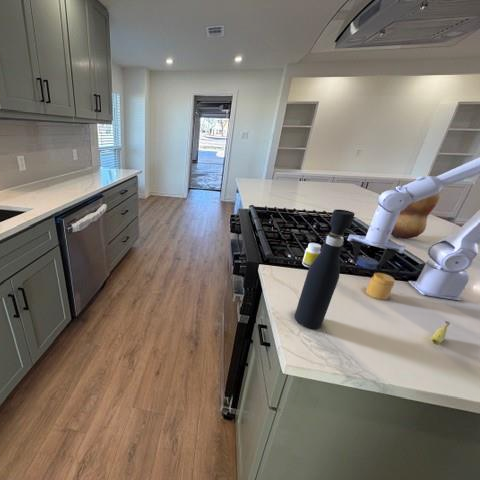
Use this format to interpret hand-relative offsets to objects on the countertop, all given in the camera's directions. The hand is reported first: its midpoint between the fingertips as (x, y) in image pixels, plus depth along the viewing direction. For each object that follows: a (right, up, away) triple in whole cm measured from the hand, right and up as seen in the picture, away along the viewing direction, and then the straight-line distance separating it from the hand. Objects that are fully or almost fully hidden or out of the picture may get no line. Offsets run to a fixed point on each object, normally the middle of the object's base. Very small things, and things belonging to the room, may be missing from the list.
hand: (365, 265), depth 87 cm
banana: (-3, -16, -25) cm, 30 cm away
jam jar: (-3, -8, -8) cm, 12 cm away
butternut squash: (+47, +10, +37) cm, 60 cm away
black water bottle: (-32, -13, -20) cm, 39 cm away
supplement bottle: (-15, -1, +8) cm, 17 cm away
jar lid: (0, +1, -1) cm, 2 cm away
